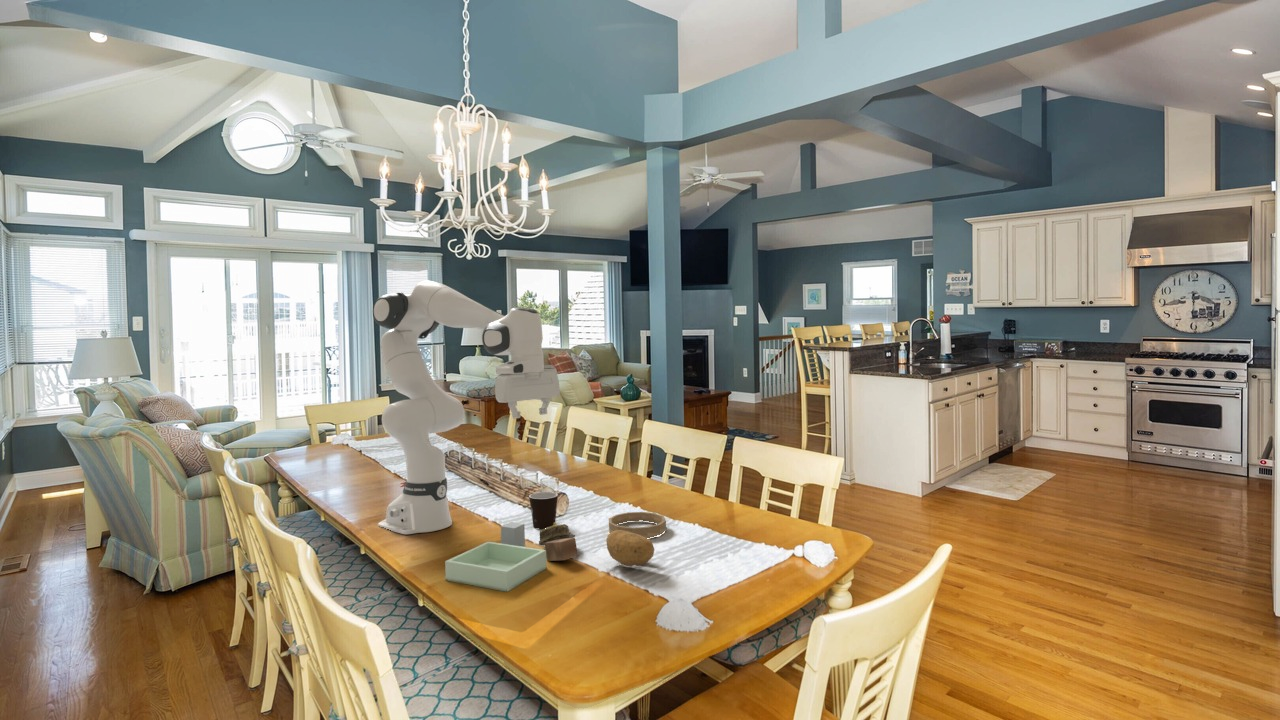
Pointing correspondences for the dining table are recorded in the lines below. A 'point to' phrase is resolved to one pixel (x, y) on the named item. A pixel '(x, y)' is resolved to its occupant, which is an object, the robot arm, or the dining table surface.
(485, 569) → the serving tray
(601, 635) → the dining table surface
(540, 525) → the coffee mug
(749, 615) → the dining table surface
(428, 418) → the robot arm
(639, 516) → the ring
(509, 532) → the grey block
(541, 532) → the cake
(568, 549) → the walnut block
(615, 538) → the potato
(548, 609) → the dining table surface
